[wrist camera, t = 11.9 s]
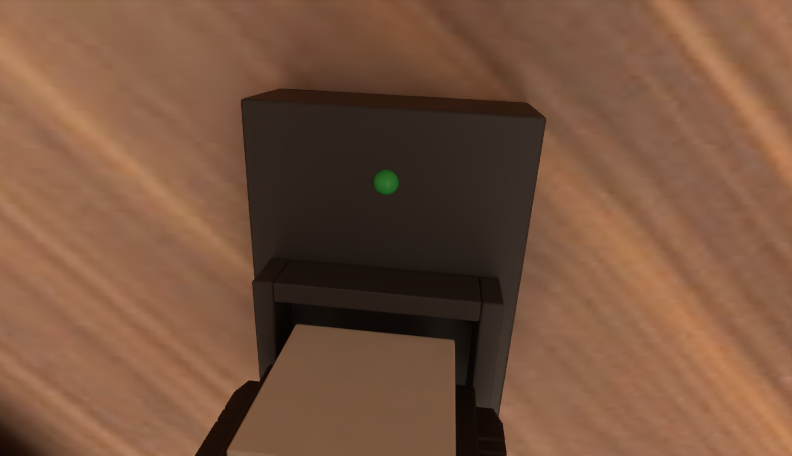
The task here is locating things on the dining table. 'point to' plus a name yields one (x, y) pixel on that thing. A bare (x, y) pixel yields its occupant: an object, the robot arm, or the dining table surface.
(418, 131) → the charging dock
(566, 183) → the dining table surface
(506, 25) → the dining table surface
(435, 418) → the block
